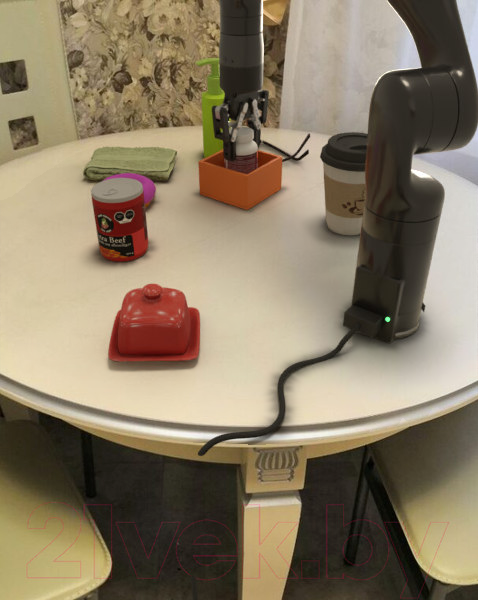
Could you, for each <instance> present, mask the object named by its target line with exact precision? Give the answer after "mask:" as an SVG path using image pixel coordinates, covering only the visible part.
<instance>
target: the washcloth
mask: <svg viewBox="0 0 478 600" xmlns="http://www.w3.org/2000/svg"><path fill="white" fill-rule="evenodd" d="M177 156H178V151H177V150H174V149H173V148H168V147H167V148H165V147H159V146H139V147H138V146H135V147H128V146H127V147H125V146H103V147H98V148H96V149H94V151H93V153H92V156H91V157H90V161H89V162H88V163H86V165H85V166H84V168H83V170H82V175H83V177H84V178H85V179H87V180H90V181H100V182H102V181H103V180H104V179H106V178H107V177H110V176H113V175H117V174H123V173H134V174H139V175H142V176H144V177H146V178H148V179H150V180H151V181H152V182H156V181H158V182H159V181H168V179H169V178H170V174H171V172H172V171H173V169H174V167H175V162H176V161H175V160H176V158H177Z"/></svg>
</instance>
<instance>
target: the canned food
mask: <svg viewBox="0 0 478 600" xmlns="http://www.w3.org/2000/svg"><path fill="white" fill-rule="evenodd" d="M90 192H91V194H90V195H91V204H92V209H93V216H94V222H95V229H96V237H97V241H98V248H99V251H100V253H101V255H102V257H103V258H104V259H106V260H108V261H111V262H119V263H120V262H121V263H122V262H129V261H133V260H137V259H139V258H140V257H143V255H145V254H146V253H147V251H148V247H149V234H148V233H149V232H148V225H147V224H148V223H147V222H148V221H147V213H146V208H145V201H144V192H143V186H142V184H141V183H140V182H139V181H137V180H135V179H130V178H113V179H108V180H104V181H103V180H102V181H99V182H97V183H95V184H94V185H93V186H92V187H91V190H90Z"/></svg>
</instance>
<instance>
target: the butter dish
mask: <svg viewBox="0 0 478 600" xmlns="http://www.w3.org/2000/svg"><path fill="white" fill-rule="evenodd" d="M200 344H201V314H200V310H199V309H198V308H197V307H192V306H189V304H188V301H187V298H186V295H185V293H184V292H183V291H181V290H180V289H176V288H171V287H163V286H161V285H160V284H159V283H148V284H145V285H144V286H143V287H138V288H134V289H130V290H129V291H128V292H126V293H125V295H124V297H123V300H122V303H121V308H120V309H119V310H118V311H117V313H116V315H115V317H114V321H113V325H112V328H111V333H110V339H109V344H108V350H107V351H108V352H107V357H108V358H109V360H110V361H113V362H122V363H123V362H127V363H128V362H185V361H193V360H196V359H197V358H198V357H199V354H200V346H201V345H200Z"/></svg>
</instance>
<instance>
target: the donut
mask: <svg viewBox="0 0 478 600" xmlns="http://www.w3.org/2000/svg"><path fill="white" fill-rule="evenodd" d="M113 178H130V179H135V180H137V181H139V182H140V183H141V184H142V186H143V192H144V201H145V209H146V208H147V207H148V206H150V205H151V202H152V200H153V198H155V196H156V190H157V187H156V184H155V183H154V181H151V180H150V179H148V178H146V177H144V176H142V175H139V174H134V173H123V174H117V175H113V176H110V177H107V178H106V179H104V180H108V179H113ZM104 180H102V181H104Z"/></svg>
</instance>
